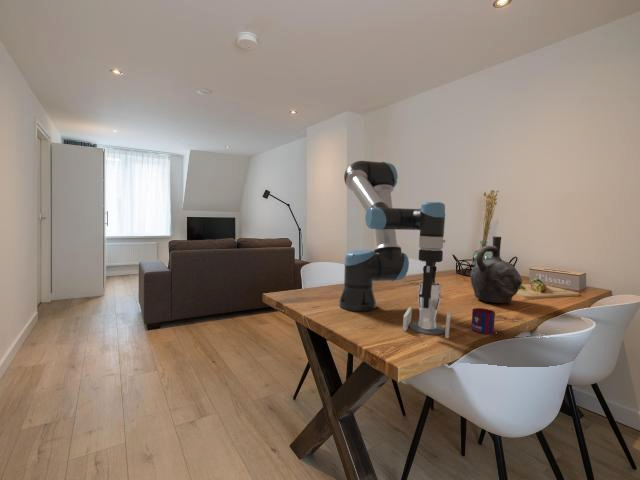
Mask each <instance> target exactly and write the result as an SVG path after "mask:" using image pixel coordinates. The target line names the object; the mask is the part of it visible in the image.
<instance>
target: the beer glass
mask: <svg viewBox="0 0 640 480" xmlns="http://www.w3.org/2000/svg"><path fill="white" fill-rule="evenodd" d="M422 287H423V281H420V282H419V286H418V294H417V297H418V298H417V301H418V310H419V311H418V312H419V315H418V316H419V318H418V321H417V322H418V327H419V328H421V329H424V330H436V328H437V326H436V325H437V313H438V310H439V306H440V301H441V283H439V282H436V281H435V282H432V289H431V312H430V318H423V317H421V308H422V297H420V294H422Z"/></svg>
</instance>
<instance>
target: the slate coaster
mask: <svg viewBox="0 0 640 480" xmlns="http://www.w3.org/2000/svg"><path fill="white" fill-rule="evenodd" d="M436 326H437V328H436V330H424V329H421V328H419V327H418V321H416V322H412V323H410V324H409V328H410V329H411V330H412V331H413V332H415V333H418V334H423V335H429V336H437V335H442V334H445V328H444V327H443V326H442V325H439V324H436Z"/></svg>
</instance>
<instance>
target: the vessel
mask: <svg viewBox="0 0 640 480" xmlns="http://www.w3.org/2000/svg"><path fill="white" fill-rule="evenodd" d="M501 245H502V236H492V245H485V246H483V247H481V248H480V249H479V250H478V252H477V254H476V264H477V265H475V266H474V267H473V268H472V269H471V271H470V273H469V276H470V283H471V286H472V289H473V293H474V297H475V298H476V299H479V300H481V301H483V302H485V303H493V304H494V303H495V304H496V303H497V304H506V303H507V304H508V303H511V302H512V300H513V297H514V296H516V295H515V294H516V293H517V292H518V289H519V287H520V285H523V280H522V277H521V275H520V272H519V271H518V270H517V269H516V268H515V267H514V266H513V265H512V264H511V263H510V262H507V261H505V260H503V259H502V258H501ZM487 252H491V253H492V254H491V257H490V258H489V259H485V260H484V256H485V253H487Z"/></svg>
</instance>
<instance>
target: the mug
mask: <svg viewBox="0 0 640 480" xmlns="http://www.w3.org/2000/svg"><path fill="white" fill-rule="evenodd" d="M471 312H472V313H471V331H473V332H475V333H477V332H478V333H477V334H481V333H483V334H482V335H492V334H493V333H494V331H495V319H496V316H495V315H496V312H495V311H494V310H492V309H487V308H482V307H481V308H480V307H476V308H472V311H471Z"/></svg>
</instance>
